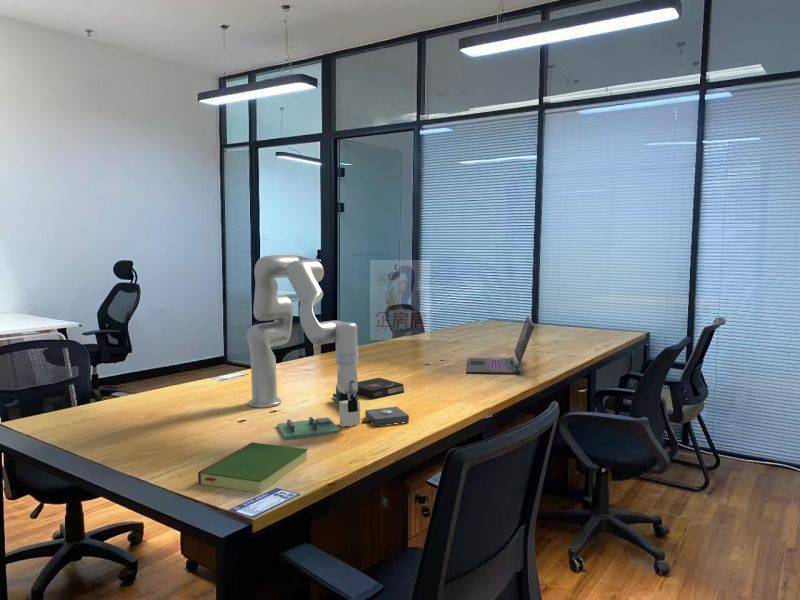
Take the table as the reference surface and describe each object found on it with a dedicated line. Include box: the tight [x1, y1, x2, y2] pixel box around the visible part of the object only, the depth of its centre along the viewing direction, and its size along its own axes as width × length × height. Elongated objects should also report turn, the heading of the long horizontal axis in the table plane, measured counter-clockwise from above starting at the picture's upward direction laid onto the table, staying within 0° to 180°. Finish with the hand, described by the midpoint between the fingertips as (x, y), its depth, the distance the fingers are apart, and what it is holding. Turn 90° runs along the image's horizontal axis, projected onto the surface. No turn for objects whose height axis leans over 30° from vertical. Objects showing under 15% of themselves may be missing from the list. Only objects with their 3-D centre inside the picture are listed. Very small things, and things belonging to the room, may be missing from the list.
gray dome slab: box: [361, 406, 410, 427], centre depth 205 cm, size 12×15×3 cm
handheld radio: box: [332, 385, 360, 404], centre depth 226 cm, size 7×3×25 cm
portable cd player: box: [357, 377, 405, 400], centre depth 245 cm, size 16×17×4 cm
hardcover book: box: [197, 442, 309, 494], centre depth 159 cm, size 25×19×4 cm
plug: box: [338, 399, 361, 428], centre depth 200 cm, size 4×6×8 cm, turn 111°
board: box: [277, 416, 341, 441], centre depth 196 cm, size 15×18×3 cm
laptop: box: [466, 316, 535, 376], centre depth 292 cm, size 35×32×24 cm
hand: (348, 408), depth 200 cm, fingers open, 9 cm apart
